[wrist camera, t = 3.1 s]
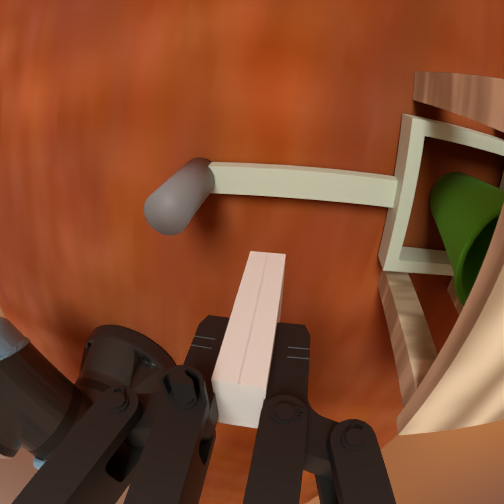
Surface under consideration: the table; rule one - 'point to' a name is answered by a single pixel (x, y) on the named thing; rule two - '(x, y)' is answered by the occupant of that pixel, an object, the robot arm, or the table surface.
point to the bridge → (470, 315)
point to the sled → (324, 190)
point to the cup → (465, 224)
